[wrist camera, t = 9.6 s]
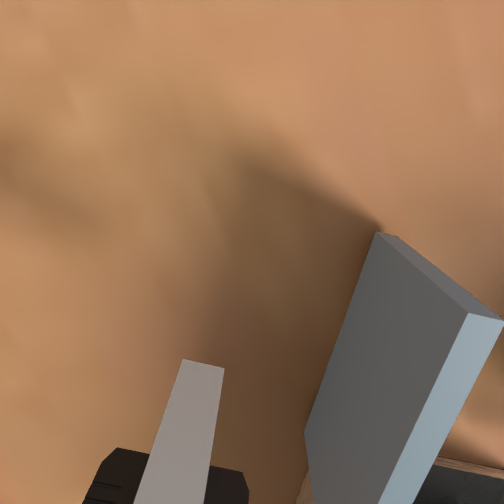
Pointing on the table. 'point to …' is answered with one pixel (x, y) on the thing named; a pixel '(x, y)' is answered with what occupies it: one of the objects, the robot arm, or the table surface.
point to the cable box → (445, 484)
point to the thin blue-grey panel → (395, 378)
